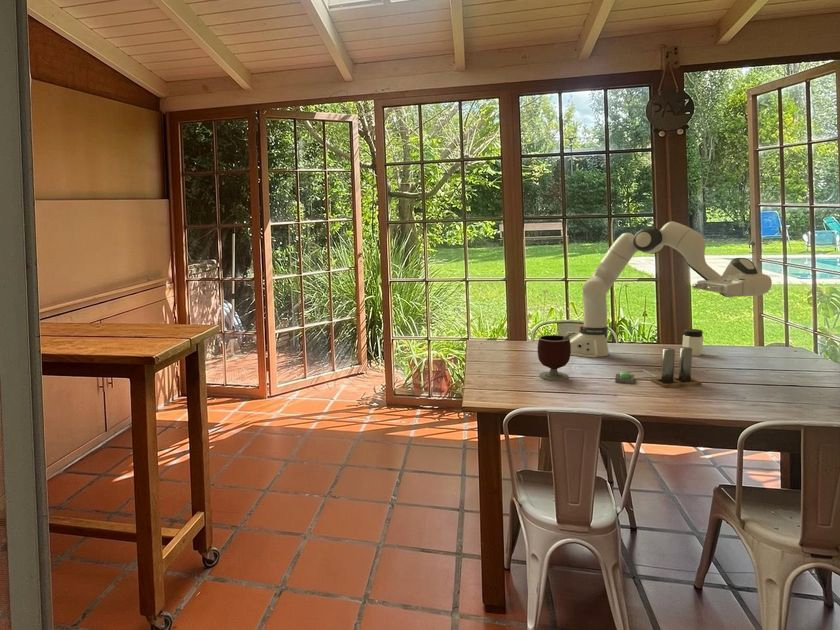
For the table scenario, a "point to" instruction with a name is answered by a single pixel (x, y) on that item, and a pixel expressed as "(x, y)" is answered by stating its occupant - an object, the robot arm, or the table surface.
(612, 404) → the table surface
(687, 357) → the cylinder
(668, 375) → the cylinder
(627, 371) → the square tray
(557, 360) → the mate gourd
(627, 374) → the button
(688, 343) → the jar
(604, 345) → the robot arm
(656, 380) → the tray
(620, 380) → the switch box
